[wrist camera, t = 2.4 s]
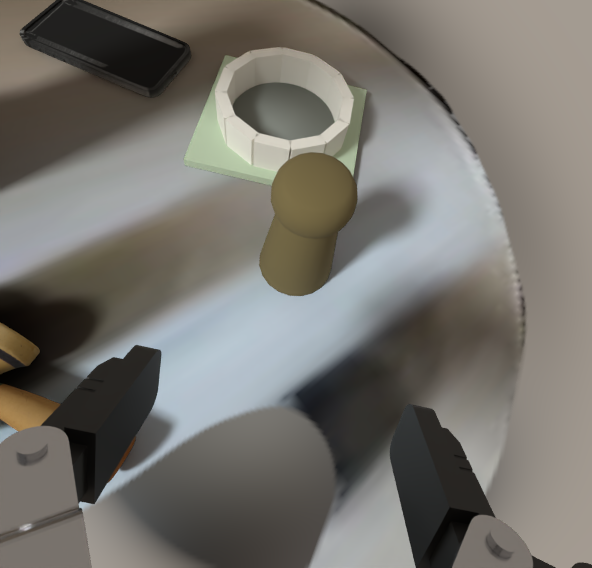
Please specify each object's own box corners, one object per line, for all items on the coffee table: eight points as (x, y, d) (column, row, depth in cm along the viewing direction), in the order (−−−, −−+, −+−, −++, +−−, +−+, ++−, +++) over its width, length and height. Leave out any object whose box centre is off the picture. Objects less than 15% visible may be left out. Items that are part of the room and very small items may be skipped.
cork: (295, 218, 32) (317, 119, 22) (345, 265, 31) (392, 183, 21) (243, 259, 30) (242, 170, 20) (295, 311, 29) (320, 244, 19)
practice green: (184, 165, 33) (177, 133, 30) (225, 62, 39) (223, 25, 35) (347, 203, 34) (358, 176, 30) (364, 96, 39) (375, 62, 36)
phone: (65, -8, 39) (194, 45, 38) (70, 4, 40) (195, 56, 39) (13, 35, 36) (152, 94, 35) (20, 46, 37) (155, 104, 36)
